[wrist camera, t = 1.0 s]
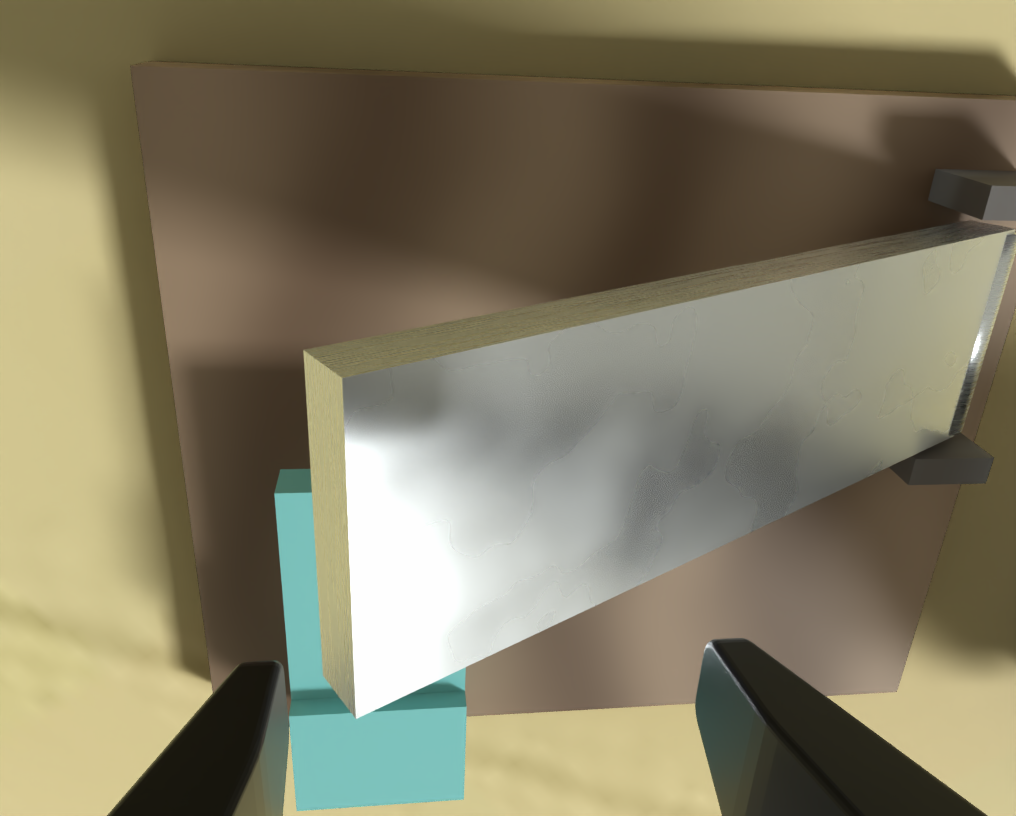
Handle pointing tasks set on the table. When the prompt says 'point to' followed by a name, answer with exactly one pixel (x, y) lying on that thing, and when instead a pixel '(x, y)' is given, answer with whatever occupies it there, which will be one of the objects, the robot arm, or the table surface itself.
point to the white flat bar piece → (619, 438)
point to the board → (534, 280)
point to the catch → (325, 718)
